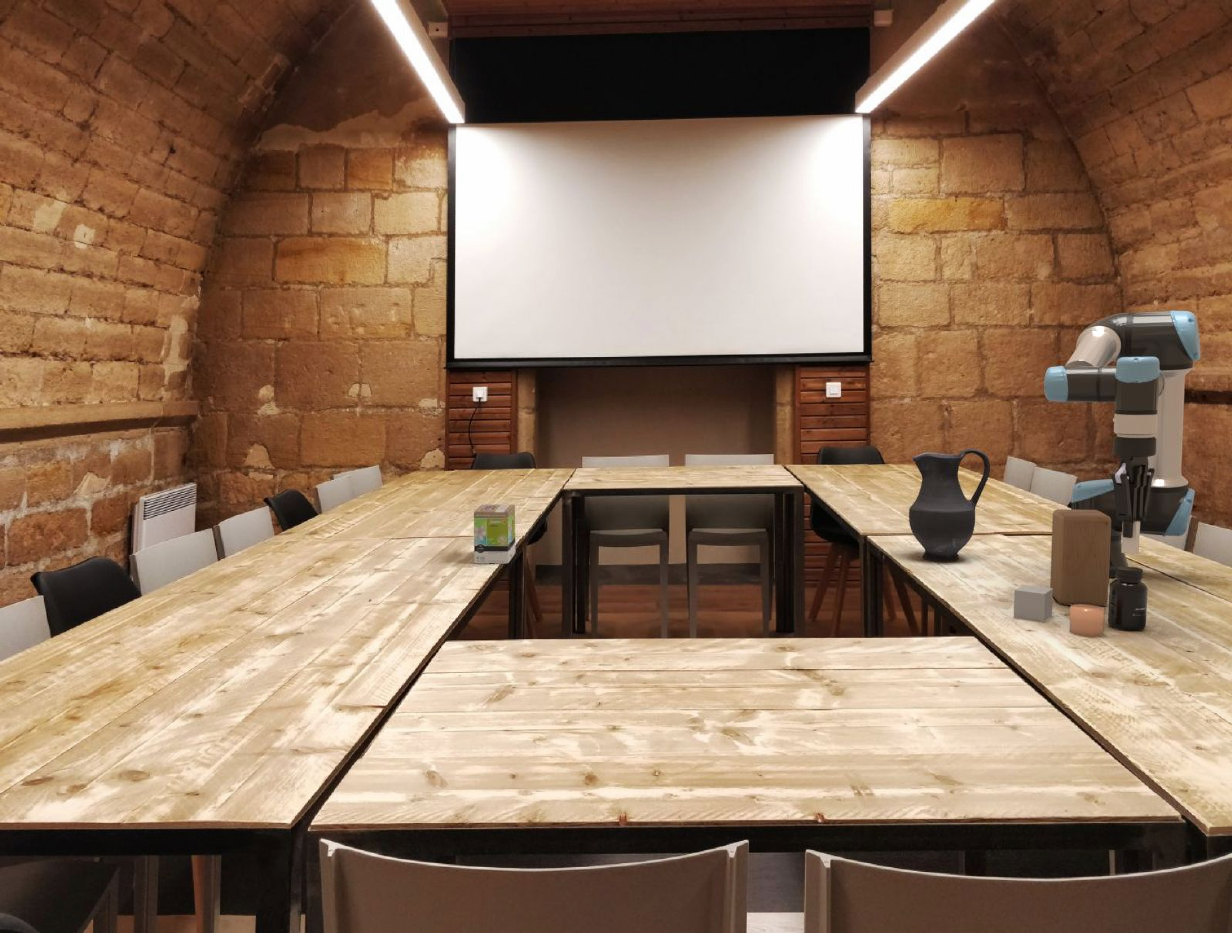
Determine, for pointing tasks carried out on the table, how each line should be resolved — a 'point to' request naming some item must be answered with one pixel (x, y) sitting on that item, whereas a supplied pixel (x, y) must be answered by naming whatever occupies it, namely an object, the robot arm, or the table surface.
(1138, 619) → the supplement bottle
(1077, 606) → the terracotta puck
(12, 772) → the table surface
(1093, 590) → the wooden block
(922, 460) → the pitcher
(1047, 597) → the grey cube
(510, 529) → the tea box
